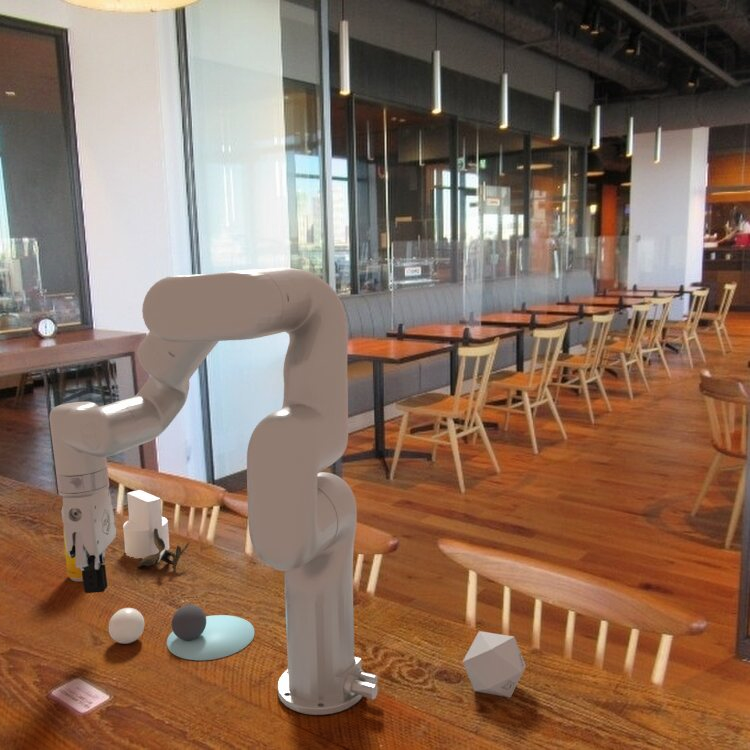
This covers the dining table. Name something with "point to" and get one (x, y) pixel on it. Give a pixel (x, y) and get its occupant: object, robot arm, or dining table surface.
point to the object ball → (188, 622)
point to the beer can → (71, 562)
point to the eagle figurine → (163, 553)
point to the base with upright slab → (144, 525)
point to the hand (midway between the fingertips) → (96, 590)
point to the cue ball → (126, 625)
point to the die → (494, 664)
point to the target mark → (214, 639)
